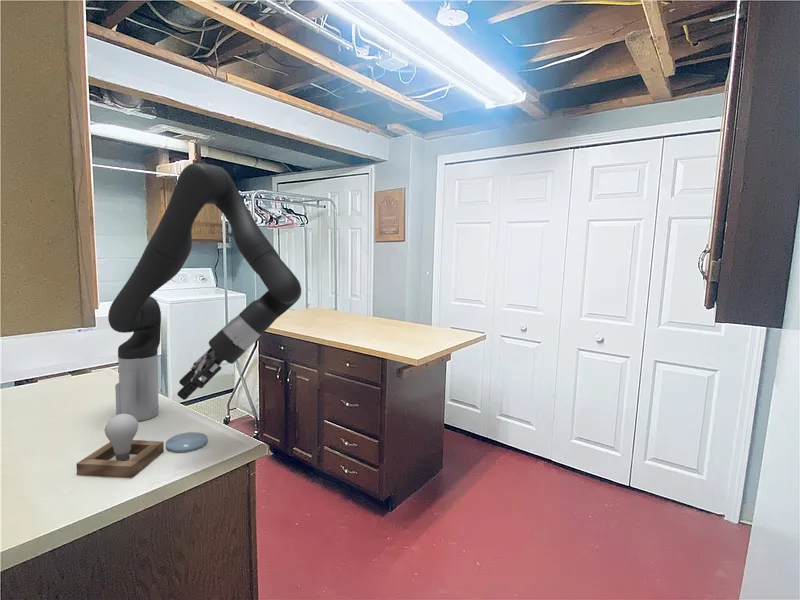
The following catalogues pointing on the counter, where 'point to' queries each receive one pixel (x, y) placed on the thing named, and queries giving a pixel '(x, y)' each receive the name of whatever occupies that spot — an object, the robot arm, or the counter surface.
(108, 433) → the lightbulb
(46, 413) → the counter surface
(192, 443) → the pad
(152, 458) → the frame
